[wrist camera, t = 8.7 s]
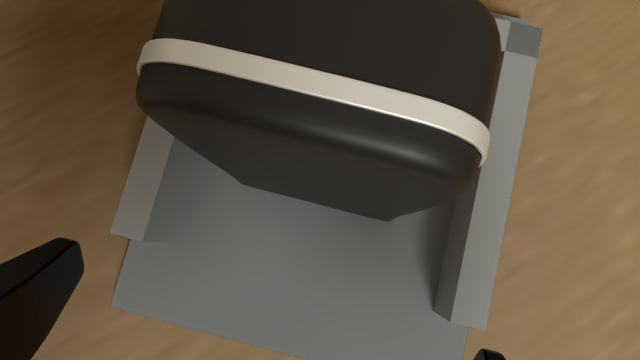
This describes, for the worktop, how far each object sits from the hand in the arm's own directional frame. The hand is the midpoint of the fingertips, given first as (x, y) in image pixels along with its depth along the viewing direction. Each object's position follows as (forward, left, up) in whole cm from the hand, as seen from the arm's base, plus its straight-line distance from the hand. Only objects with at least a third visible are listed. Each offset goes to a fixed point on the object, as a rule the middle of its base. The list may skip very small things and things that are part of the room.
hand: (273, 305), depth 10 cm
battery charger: (+4, +2, -8) cm, 10 cm away
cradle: (+4, +2, -9) cm, 10 cm away
